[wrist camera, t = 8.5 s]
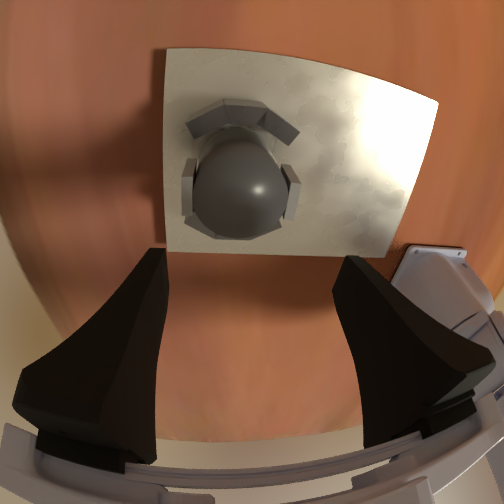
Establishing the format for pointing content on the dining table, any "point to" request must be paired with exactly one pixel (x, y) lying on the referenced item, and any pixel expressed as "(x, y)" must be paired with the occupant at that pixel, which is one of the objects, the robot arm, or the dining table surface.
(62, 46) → the dining table surface
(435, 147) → the dining table surface
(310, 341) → the dining table surface
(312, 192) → the beige plate
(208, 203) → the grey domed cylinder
